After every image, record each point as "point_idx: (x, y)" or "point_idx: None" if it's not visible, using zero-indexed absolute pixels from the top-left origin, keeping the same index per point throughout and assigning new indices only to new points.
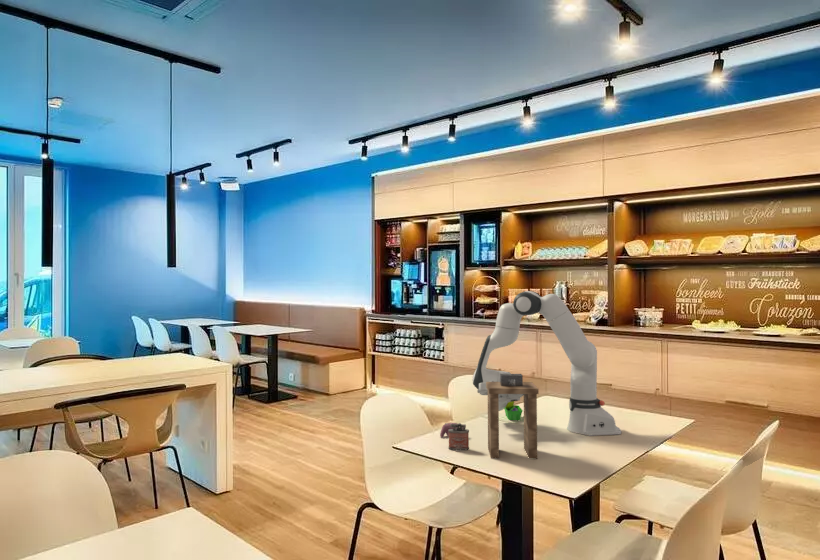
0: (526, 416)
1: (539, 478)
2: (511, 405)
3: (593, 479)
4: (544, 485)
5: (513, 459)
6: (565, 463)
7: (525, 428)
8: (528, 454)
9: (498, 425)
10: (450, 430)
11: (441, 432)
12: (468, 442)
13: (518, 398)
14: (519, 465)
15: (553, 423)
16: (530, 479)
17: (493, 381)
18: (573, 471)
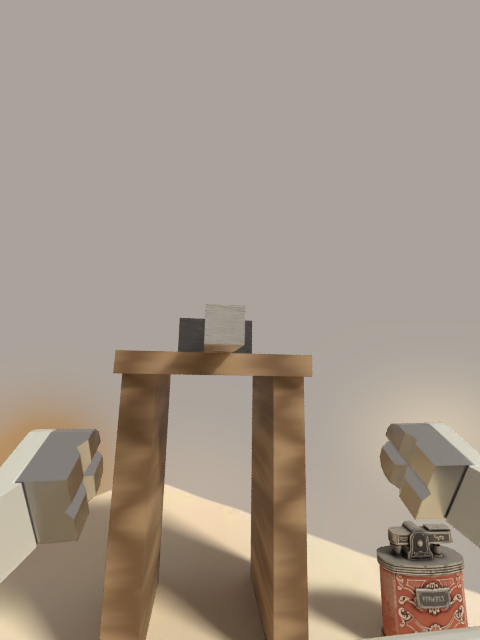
0: (160, 463)
1: (174, 502)
2: None
3: None
4: (174, 489)
5: (207, 571)
6: (67, 560)
7: (152, 530)
8: (157, 575)
9: (252, 467)
10: (442, 547)
11: None
12: (382, 610)
13: None
14: (198, 541)
15: None
16: (191, 499)
17: (393, 426)
18: (86, 526)
